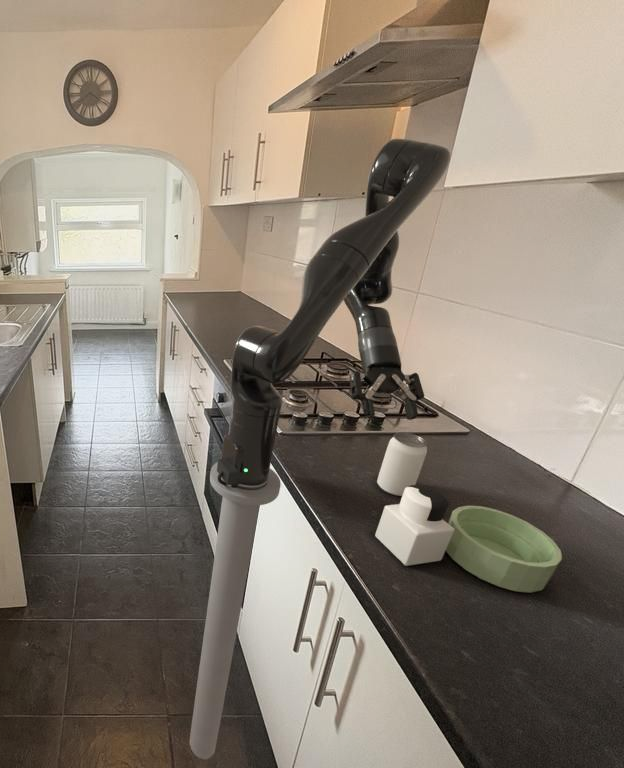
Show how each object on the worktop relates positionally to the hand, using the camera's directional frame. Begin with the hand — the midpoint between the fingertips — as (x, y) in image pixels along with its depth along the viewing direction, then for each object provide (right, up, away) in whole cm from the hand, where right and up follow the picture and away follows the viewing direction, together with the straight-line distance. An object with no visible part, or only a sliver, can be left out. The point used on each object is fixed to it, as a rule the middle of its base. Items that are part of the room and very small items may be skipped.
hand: (391, 418), depth 90 cm
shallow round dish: (+4, -23, -20) cm, 30 cm away
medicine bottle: (-9, -22, -17) cm, 29 cm away
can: (-1, -15, -2) cm, 15 cm away
